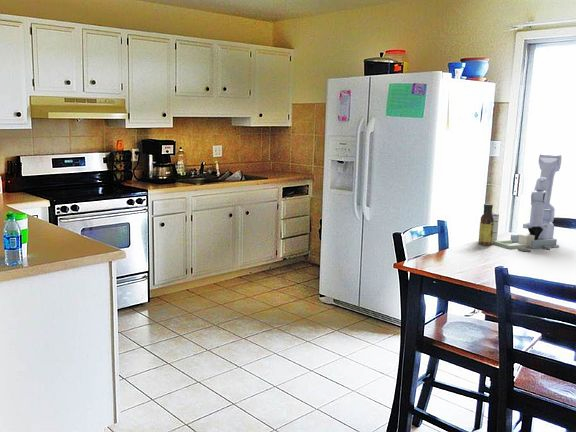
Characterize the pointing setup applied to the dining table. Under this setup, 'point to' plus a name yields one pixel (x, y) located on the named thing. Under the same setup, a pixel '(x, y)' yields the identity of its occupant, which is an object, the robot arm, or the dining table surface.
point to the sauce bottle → (486, 226)
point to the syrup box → (495, 226)
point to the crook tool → (550, 246)
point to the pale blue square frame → (536, 241)
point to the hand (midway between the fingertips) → (533, 241)
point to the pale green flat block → (504, 244)
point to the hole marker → (524, 250)
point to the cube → (525, 239)
